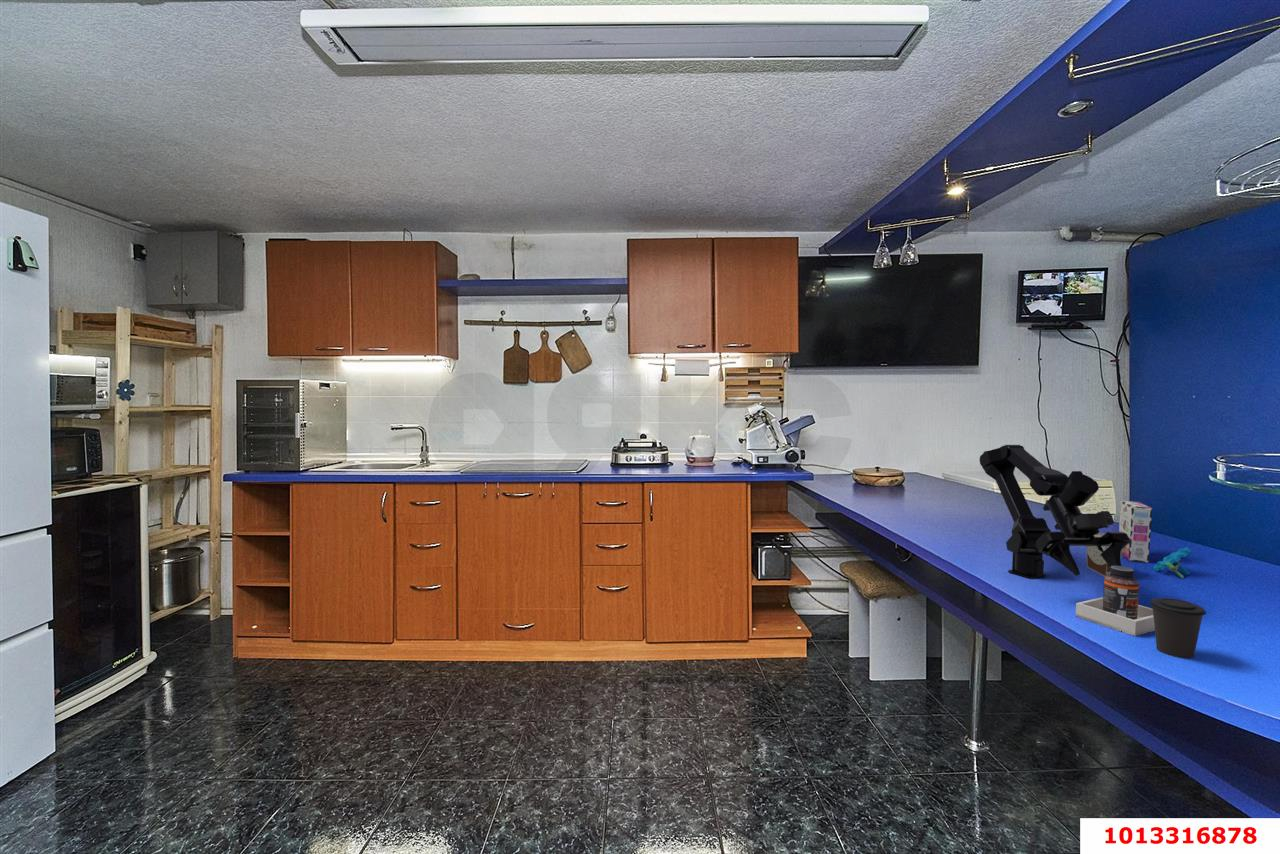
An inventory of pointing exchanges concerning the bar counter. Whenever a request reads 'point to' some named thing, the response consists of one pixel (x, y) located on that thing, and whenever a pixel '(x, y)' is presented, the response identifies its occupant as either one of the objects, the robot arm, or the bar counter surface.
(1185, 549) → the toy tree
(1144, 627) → the tray
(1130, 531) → the candy bar box
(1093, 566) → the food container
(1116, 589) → the supplement bottle
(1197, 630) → the coffee cup
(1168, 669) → the bar counter surface
